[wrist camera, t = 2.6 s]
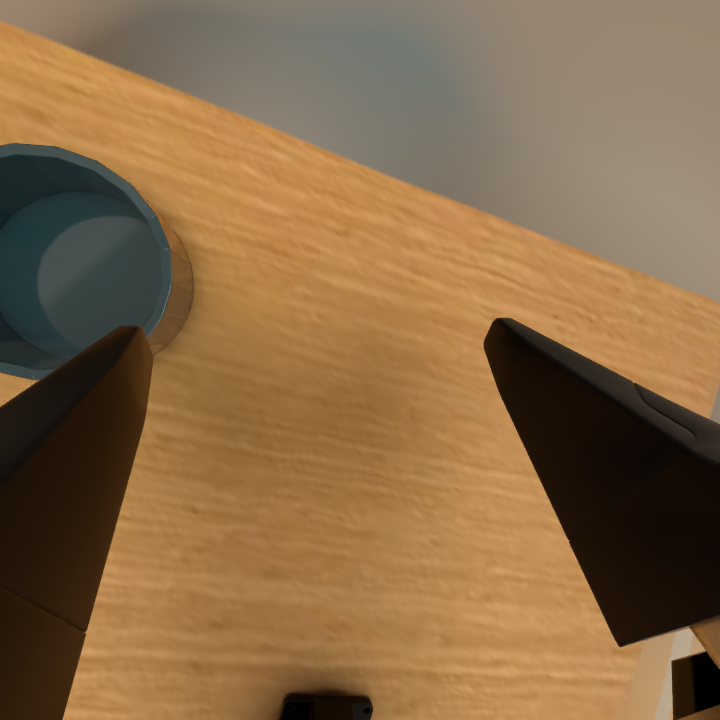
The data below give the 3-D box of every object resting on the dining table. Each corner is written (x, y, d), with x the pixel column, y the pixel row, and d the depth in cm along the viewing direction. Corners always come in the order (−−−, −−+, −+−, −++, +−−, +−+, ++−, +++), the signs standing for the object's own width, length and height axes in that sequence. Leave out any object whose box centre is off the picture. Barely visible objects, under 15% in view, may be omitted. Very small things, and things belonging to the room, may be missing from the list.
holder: (167, 390, 22) (138, 403, 17) (-38, 342, 19) (-134, 343, 15) (214, 226, 22) (197, 196, 17) (16, 157, 19) (-63, 102, 15)
